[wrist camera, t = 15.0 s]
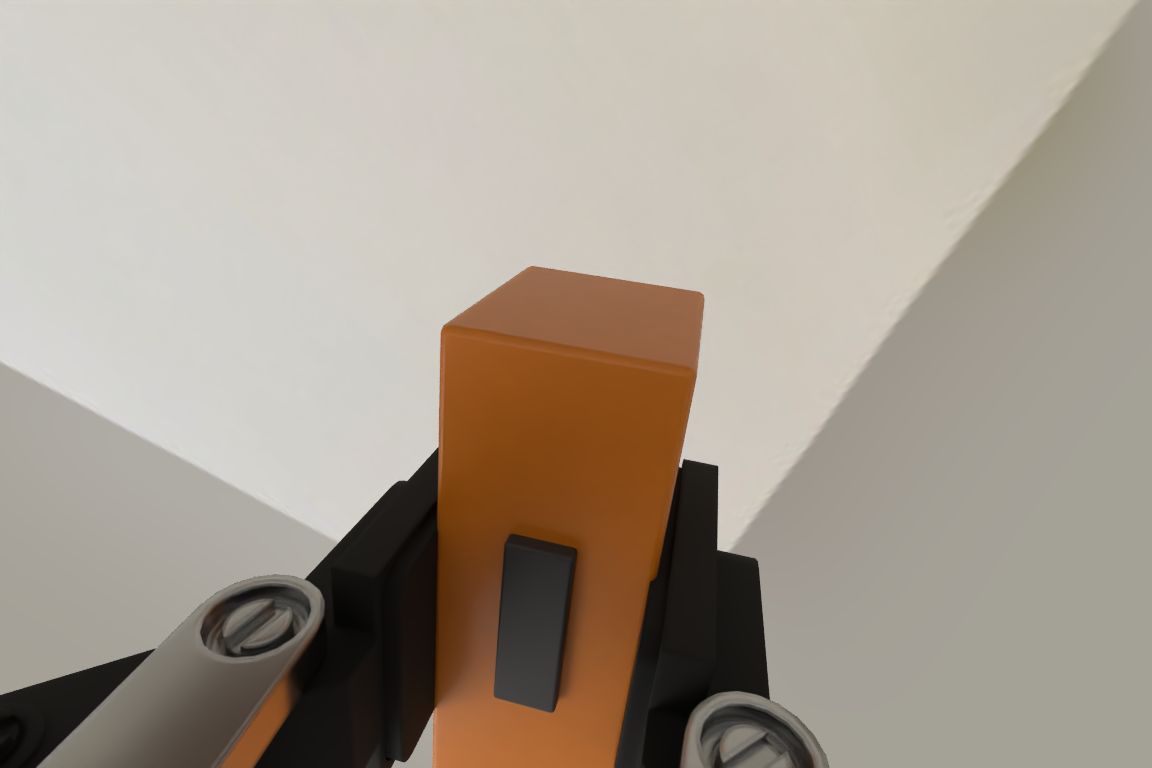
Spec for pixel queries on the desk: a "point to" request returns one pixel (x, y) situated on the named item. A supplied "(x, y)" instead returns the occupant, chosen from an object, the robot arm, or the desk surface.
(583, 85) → the desk surface
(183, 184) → the desk surface
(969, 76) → the desk surface
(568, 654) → the orange block with switch
